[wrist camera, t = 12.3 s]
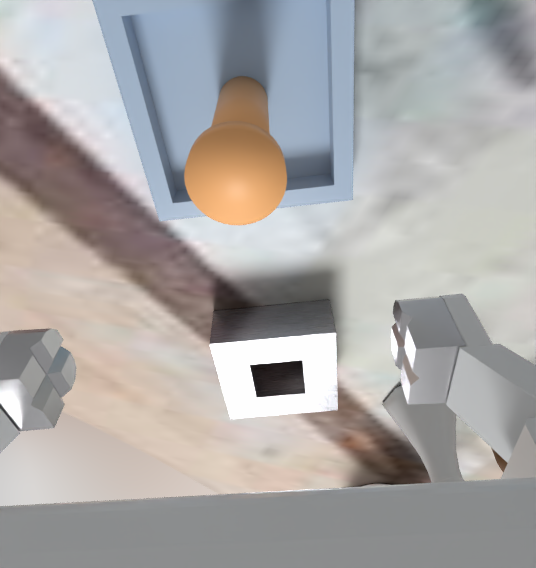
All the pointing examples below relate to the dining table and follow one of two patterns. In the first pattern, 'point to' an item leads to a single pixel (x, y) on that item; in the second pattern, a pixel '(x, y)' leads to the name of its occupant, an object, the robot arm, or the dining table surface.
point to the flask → (428, 434)
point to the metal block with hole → (276, 358)
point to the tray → (226, 65)
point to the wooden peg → (237, 158)
